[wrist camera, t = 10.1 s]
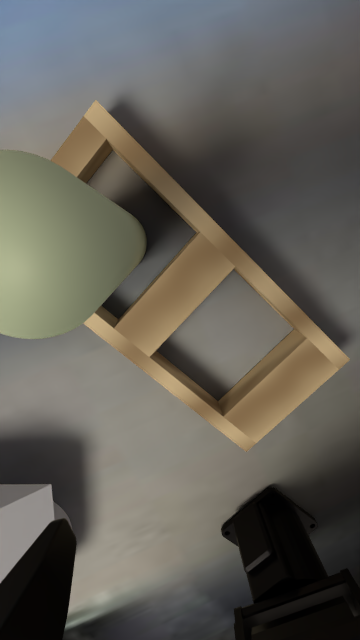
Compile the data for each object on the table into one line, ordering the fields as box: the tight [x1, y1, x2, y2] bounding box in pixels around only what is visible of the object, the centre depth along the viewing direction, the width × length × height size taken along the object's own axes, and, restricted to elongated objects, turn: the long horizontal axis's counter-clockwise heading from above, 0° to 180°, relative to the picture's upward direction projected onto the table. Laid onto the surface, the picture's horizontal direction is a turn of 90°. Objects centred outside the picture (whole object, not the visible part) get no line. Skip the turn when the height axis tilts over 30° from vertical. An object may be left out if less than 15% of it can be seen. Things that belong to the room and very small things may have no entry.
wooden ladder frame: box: [51, 100, 350, 452], centre depth 19 cm, size 22×10×2 cm, turn 47°
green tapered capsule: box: [0, 150, 147, 339], centre depth 12 cm, size 4×4×13 cm
